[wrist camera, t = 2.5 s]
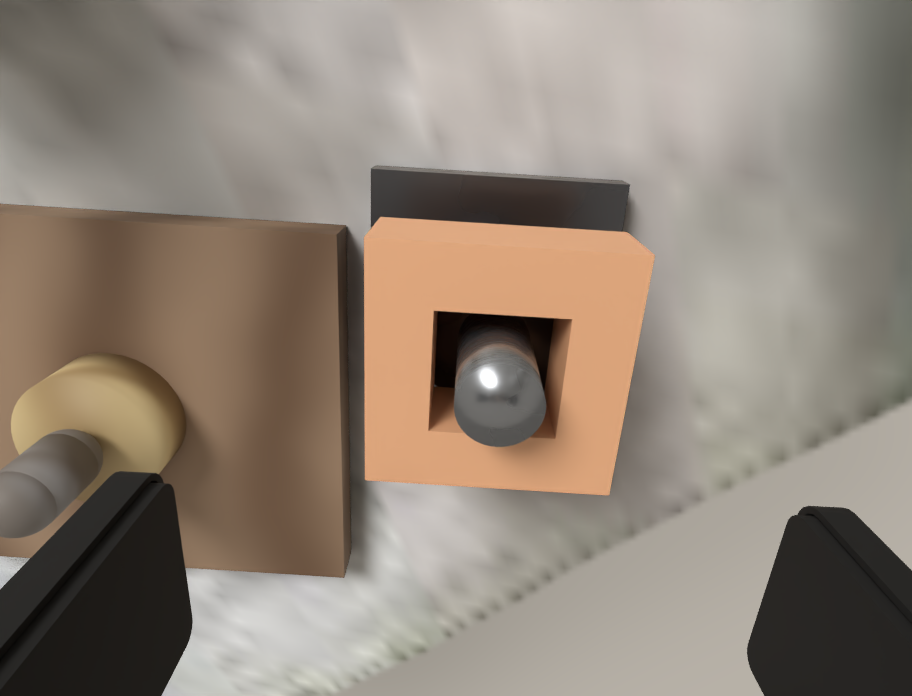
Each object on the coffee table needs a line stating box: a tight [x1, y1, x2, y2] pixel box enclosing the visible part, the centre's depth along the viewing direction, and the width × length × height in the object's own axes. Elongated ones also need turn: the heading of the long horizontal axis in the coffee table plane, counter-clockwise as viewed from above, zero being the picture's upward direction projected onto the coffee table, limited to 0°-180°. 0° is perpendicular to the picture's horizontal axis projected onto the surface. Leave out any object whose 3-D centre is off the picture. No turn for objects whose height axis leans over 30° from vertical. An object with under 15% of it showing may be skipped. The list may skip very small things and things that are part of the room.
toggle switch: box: [0, 204, 351, 578], centre depth 19 cm, size 16×14×8 cm
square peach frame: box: [364, 217, 655, 495], centre depth 15 cm, size 6×6×2 cm
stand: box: [371, 166, 630, 447], centre depth 17 cm, size 8×8×8 cm
